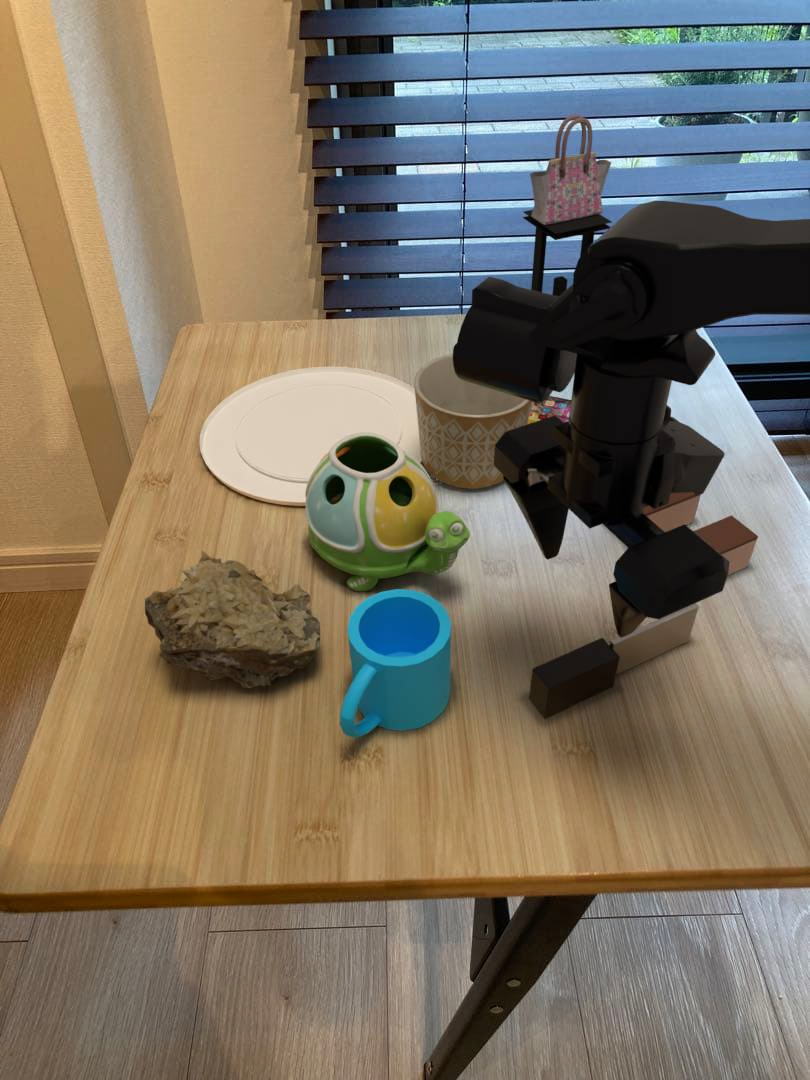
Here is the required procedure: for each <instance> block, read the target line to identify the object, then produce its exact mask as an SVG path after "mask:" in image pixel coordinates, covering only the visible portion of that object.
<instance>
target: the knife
mask: <svg viewBox="0 0 810 1080" xmlns="http://www.w3.org/2000/svg"><path fill="white" fill-rule="evenodd" d="M699 607H700V606H699V605H698V604H697V603H695V604H692V605H690V606H688V607H686V608H683V609H681V610H679V611H677V612H674V613H672V614H670V615H668V616H665V617H663V618H661V619H655V620H654V621H652V622H650V623H647V624H645V625H643V626H640V627H637V628H636V629H635V631H634V632H633V633H631V634H629V635H627V636H625V637H622V638H621V637H620V636H618V637H616V638H613V639H612V640H610V642H609V643H608V642H607V641H606V640H605V639H604V637H600V638H598V639H596V640H593V641H591V642H589V643H586V644H584V645H583V646H580V647H578V648H576V649H573V650H571V651H569V652H567V653H564V654H562V655H560V656H557V657H555V658H552V659H551V660H549V661H546V662H544V663H541V664H540V665H537V666H535V667H532V669H531V678H530V686H529V694H528V699H529V701H530V702H531V703H532V705H533V706H534V707H535V709H536V710H537V711H538V712H539V714H540V715H541V716H542V717H543V719H545V720H546V719H548V718H550V717H552V716H554V715H556V714H559V713H561V712H563V711H565V710H567V709H569V708H571V707H574V706H575V705H577V704H580V703H582V702H585V701H587V700H588V699H590V698H592V697H596V696H597V695H599V694H601V693H604V692H606V691H607V690H610V689H612V688H614V685H615V680H616V676H618V675H619V674H621V673H623V672H626V671H627V670H629V669H632V668H635V667H636V666H638V665H640V664H643V663H645V662H647V661H649V660H651V659H653V658H656V657H658V656H660V655H662V654H664V653H666V652H668V651H671V650H672V649H675V648H677V647H679V646H682V645H683V644H686V643H688V642H689V641H690V638H691V634H692V630H693V627H694V625H695V621H696V617H697V613H698V610H699Z"/></svg>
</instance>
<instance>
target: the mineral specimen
mask: <svg viewBox="0 0 810 1080" xmlns="http://www.w3.org/2000/svg"><path fill="white" fill-rule="evenodd" d="M189 567H190V569H181V572H182V573H183V574H184V576H185V579H184V580H179V582H180V584H179V586H178V587H176V588H175V589H174V586H172V587H170V588H168V589H167V590H164V591H160V590H159V591H158V590H154V591H153V592H152V593H151V594H150V595H149V596H148V597H146V598H144V614H145V617H146V619H147V623H148V625H149V626H151V627H152V628H153V629H154V633H155V636H156V638H158V640H159V641H160V644H159V648H160V653H159V655H158V656H159V657H160V658H161V659H163V660H165V661H166V664H167V666H169V665H170V666H171V667H173V668H176V669H177V668H178V669H184V670H185V669H186V670H192V671H193V670H194V671H197V672H199V671H200V674H201V675H203V676H206V677H207V678H208V680H211V681H213V680H218V679H224V678H229V679H232V680H233V681H234V682H236V683H239V684H240V686H241V687H242V688H246V689H247V688H248V689H252V688H255V687H259V686H262V687H266V686H269V687H270V686H272V681H274V680H275V679H276V678H279V679H281V678H282V677H284V676H289V675H291V674H292V673H293V671H295V669H299V670H300V669H303V668H305V667H306V666H307V665H308V664H309V663H310V661H311V660H312V659H313V658H314V656H315V654H316V652H317V650H318V648H319V646H320V645H321V622H320V621H319V620H318V618H317V617H316V616H313V615H310V614H308V613H307V610H308V609H307V608H308V605H309V604H310V603H311V596H310V593H308V592H307V591H306V590H303V589H302V588H301V585H300V584H299V583H295V584H294V585H293V586H292V587H291V588H290V590H289V589H287V590H285V591H284V592H282V593H275V591H272V590H270V589H269V587H268V586H266V585H264V584H263V579H262V578H261V577H260V576H258V575H257V574H256V572H255V570H254V569H251V570H250V569H249V568H248V567H247V566H246V565H245V564H244V563H242V562H240V561H237V560H231V559H228V560H226V561H225V562H222V558H215V557H211V556H210V554H208V553H206V552H205V551H204V550H203V549H201V556H200V559H199V560H198V563H197V564H195V565H189Z"/></svg>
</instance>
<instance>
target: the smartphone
mask: <svg viewBox="0 0 810 1080" xmlns="http://www.w3.org/2000/svg"><path fill="white" fill-rule="evenodd" d="M570 406H571V399H568V398H564V397H563V398H562V397H558V396H552V395H550V396H549V397H548V398H547V399H546V400H545V401H543V402H542V403H536V402H533V401H532V405H531V410H530V414H529V419H528V423H527V424H530V423H533V422H536V421H539V420H542V419H545V418H549V417H552V416H555V415H556V416H557V417H558V418H560V419H561V420H562V421H564V422H567V421H569V414H570Z"/></svg>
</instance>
